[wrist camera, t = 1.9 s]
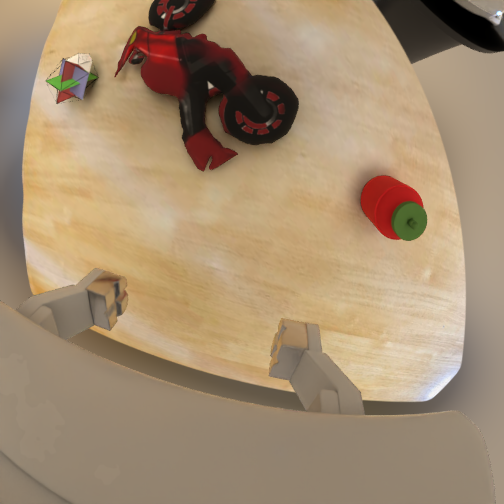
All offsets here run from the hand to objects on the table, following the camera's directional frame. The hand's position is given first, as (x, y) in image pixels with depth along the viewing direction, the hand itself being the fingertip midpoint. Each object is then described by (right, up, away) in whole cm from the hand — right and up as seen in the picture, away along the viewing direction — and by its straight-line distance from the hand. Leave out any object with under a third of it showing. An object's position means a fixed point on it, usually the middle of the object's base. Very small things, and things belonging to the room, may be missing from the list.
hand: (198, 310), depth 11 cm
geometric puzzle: (-21, +26, +16) cm, 37 cm away
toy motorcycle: (-5, +23, +15) cm, 28 cm away
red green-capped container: (+18, +9, +19) cm, 28 cm away
